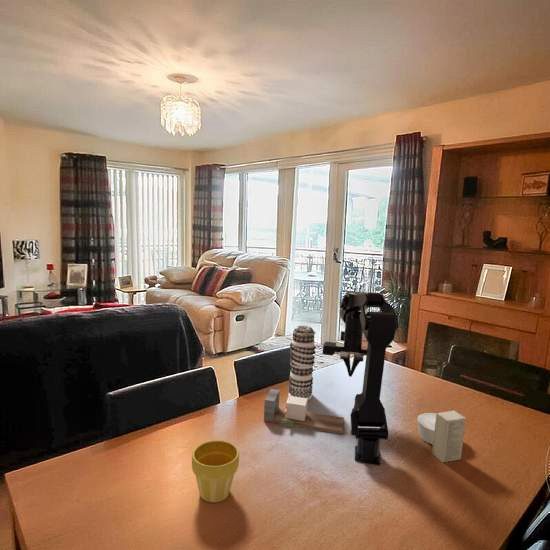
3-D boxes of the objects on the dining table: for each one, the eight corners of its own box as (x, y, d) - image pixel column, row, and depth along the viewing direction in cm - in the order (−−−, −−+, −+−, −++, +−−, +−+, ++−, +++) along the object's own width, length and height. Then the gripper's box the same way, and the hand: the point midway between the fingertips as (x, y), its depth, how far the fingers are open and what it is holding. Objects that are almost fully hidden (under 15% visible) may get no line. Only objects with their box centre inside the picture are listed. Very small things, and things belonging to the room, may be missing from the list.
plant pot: (216, 471, 93) (217, 433, 92) (247, 491, 87) (248, 451, 86) (181, 493, 85) (182, 452, 84) (212, 517, 79) (213, 473, 78)
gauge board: (342, 435, 112) (344, 412, 111) (263, 422, 117) (264, 400, 116) (343, 420, 120) (345, 399, 119) (269, 409, 125) (270, 388, 124)
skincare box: (449, 450, 107) (454, 409, 105) (461, 460, 102) (466, 417, 101) (430, 453, 105) (435, 412, 103) (442, 463, 101) (447, 420, 99)
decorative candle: (284, 398, 133) (287, 329, 129) (290, 388, 142) (294, 322, 138) (309, 403, 130) (314, 332, 127) (315, 392, 139) (319, 325, 136)
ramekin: (413, 442, 110) (415, 425, 109) (418, 424, 120) (420, 408, 119) (455, 454, 105) (458, 436, 104) (457, 435, 115) (459, 418, 114)
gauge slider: (303, 426, 113) (303, 410, 113) (283, 422, 115) (284, 407, 114) (306, 413, 121) (307, 398, 120) (288, 410, 122) (288, 395, 122)
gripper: (382, 326, 129) (378, 370, 131) (327, 321, 133) (324, 363, 135) (384, 336, 118) (380, 383, 120) (324, 329, 122) (320, 376, 124)
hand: (350, 376), depth 125 cm, fingers closed
